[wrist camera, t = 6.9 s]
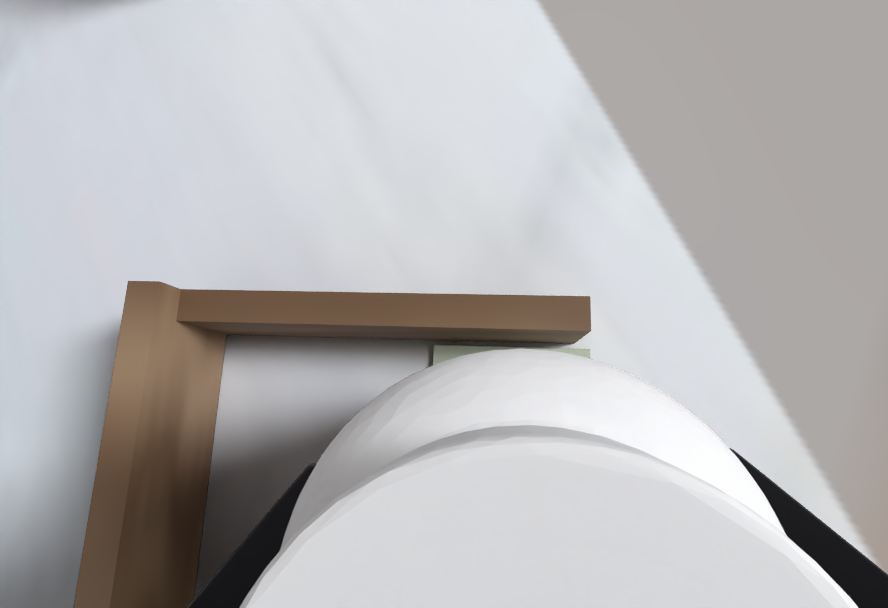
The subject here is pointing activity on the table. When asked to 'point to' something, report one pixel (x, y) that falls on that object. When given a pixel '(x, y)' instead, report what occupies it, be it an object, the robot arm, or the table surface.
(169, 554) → the bay
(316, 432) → the table surface
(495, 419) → the supplement bottle
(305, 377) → the table surface
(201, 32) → the table surface
